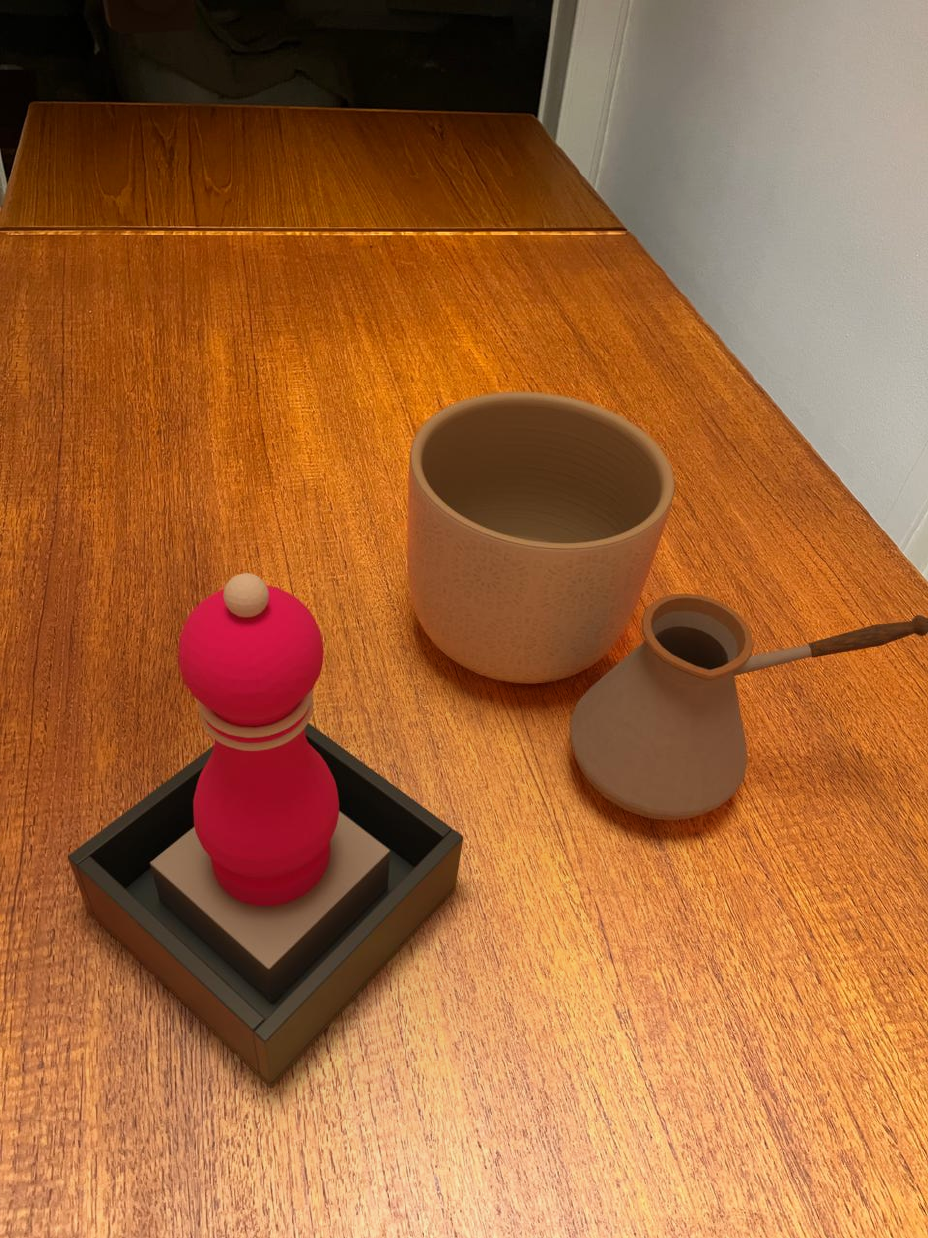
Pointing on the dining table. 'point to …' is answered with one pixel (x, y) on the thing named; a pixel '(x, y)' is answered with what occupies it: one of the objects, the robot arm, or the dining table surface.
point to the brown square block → (273, 907)
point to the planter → (531, 531)
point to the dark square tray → (204, 980)
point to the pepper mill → (259, 741)
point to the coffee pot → (685, 707)
